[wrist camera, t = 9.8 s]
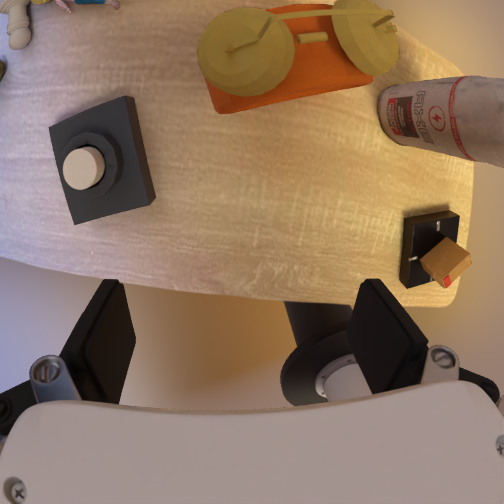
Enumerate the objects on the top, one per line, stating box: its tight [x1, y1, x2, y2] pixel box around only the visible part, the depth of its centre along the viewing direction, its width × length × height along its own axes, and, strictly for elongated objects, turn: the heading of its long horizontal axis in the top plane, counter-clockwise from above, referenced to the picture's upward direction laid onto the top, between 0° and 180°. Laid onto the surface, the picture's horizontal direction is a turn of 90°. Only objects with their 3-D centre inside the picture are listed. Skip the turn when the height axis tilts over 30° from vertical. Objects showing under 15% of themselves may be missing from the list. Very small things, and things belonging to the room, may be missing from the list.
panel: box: [399, 210, 460, 289], centre depth 36 cm, size 10×10×3 cm
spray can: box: [378, 76, 504, 168], centre depth 20 cm, size 8×8×20 cm
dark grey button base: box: [49, 96, 156, 225], centre depth 26 cm, size 12×10×5 cm
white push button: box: [63, 147, 105, 190], centre depth 24 cm, size 4×4×2 cm
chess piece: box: [0, 0, 31, 50], centre depth 16 cm, size 5×5×9 cm
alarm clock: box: [197, 0, 400, 114], centre depth 17 cm, size 13×6×20 cm, turn 106°
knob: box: [420, 237, 472, 289], centre depth 32 cm, size 6×2×6 cm, turn 129°
